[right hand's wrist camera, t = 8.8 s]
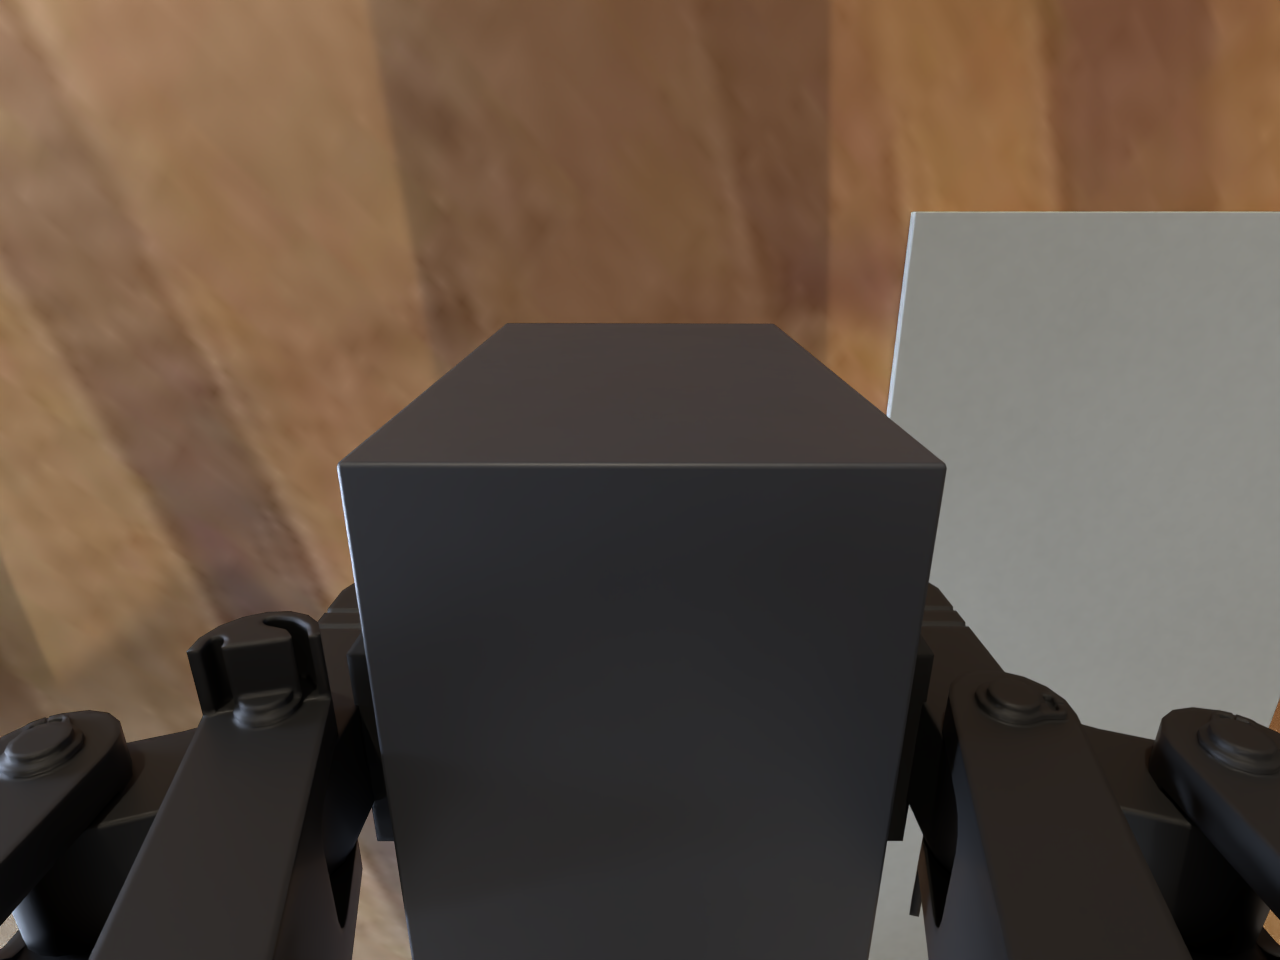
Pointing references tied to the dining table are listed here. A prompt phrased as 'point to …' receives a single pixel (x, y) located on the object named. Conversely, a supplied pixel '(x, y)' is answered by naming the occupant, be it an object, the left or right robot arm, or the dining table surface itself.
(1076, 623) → the grey rubber mat
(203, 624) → the dining table surface
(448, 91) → the dining table surface
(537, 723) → the charcoal beam
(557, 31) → the dining table surface
